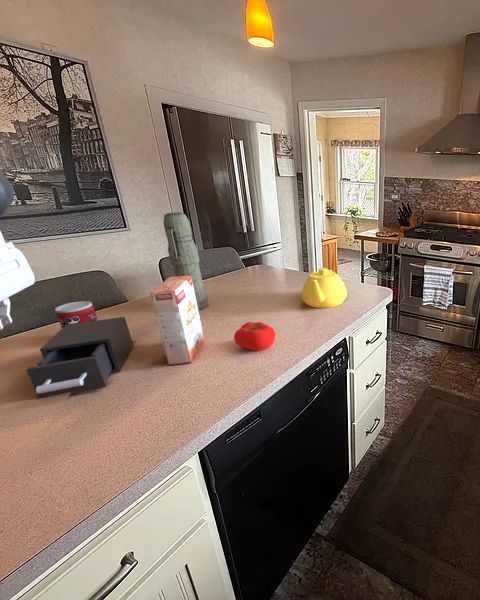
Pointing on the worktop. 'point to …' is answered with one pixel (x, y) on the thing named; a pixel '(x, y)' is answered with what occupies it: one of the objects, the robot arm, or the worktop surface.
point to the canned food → (75, 313)
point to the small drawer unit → (95, 338)
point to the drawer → (72, 370)
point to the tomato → (254, 336)
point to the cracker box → (178, 319)
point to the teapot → (323, 289)
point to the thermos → (184, 253)
